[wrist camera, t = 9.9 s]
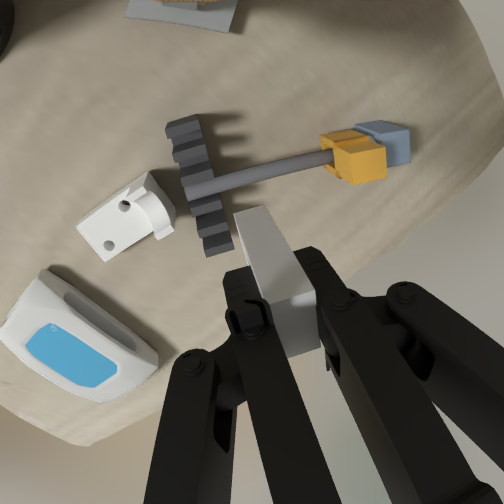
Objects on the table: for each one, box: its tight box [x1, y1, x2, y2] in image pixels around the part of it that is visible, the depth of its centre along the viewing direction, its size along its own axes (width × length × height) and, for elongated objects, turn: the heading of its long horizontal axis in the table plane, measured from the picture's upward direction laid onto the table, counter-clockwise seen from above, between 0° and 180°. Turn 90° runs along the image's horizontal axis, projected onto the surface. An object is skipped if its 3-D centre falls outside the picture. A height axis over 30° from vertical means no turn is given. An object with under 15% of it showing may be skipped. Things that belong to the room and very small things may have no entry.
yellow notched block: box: [320, 129, 387, 185], centre depth 39 cm, size 5×5×9 cm
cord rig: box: [165, 114, 411, 258], centre depth 42 cm, size 32×18×8 cm, turn 102°
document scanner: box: [0, 270, 159, 403], centre depth 52 cm, size 21×28×6 cm
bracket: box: [76, 171, 176, 262], centre depth 41 cm, size 13×7×8 cm, turn 117°
